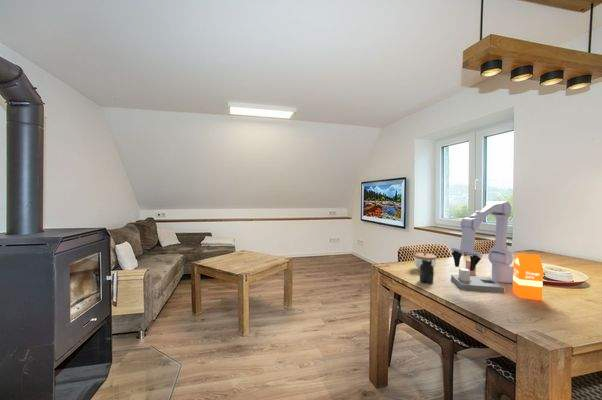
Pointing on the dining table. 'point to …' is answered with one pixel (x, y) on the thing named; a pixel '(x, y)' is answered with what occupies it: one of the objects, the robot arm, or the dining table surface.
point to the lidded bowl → (420, 256)
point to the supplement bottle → (426, 271)
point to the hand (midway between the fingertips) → (464, 268)
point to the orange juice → (528, 276)
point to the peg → (469, 267)
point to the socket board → (475, 282)
